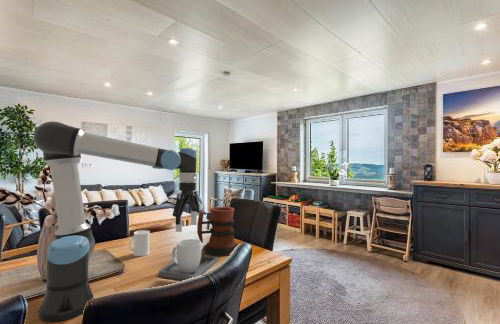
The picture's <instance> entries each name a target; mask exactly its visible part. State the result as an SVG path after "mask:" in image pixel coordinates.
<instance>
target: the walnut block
mask: <svg viewBox="0 0 500 324" xmlns="http://www.w3.org/2000/svg"><path fill="white" fill-rule="evenodd" d="M205 256H206V253H205V250H203V249H201V259H200V263H201V264H202V263H203V261H204V260H205Z"/></svg>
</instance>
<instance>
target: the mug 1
mask: <svg viewBox="0 0 500 324" xmlns="http://www.w3.org/2000/svg"><path fill="white" fill-rule="evenodd" d="M150 232H151V231H150V230H148V229H147V230H146V229H144V230H142V229H141V230H136V231H134V232H133V236H132V237H131V238H130V240H129V242H128V248H129V250H131V251H132V252H133V253H132V255H133V256H134V257H144V256H148V255H150V237H151V235H150V234H151V233H150ZM132 241H133V248H132V247H131V242H132Z"/></svg>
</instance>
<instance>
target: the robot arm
mask: <svg viewBox="0 0 500 324" xmlns="http://www.w3.org/2000/svg"><path fill="white" fill-rule="evenodd" d="M32 137H33V142H34V144H35V146H36V147H37V148H38V150H40V151H42V156H43V160H44V161H43V162H45V163H46V164H47V165H49V168H50V175H51V180H52V181H51V182H52V187H53V193H54V194H53V196H54V202H55V208H56V214H57V222H58V229H57V230H56V231H55V233H54V237H55V240H53V241H51V243H50V244H49V245H48V247H47V251H46V258H47V259H46V290H45V291H46V292H45V293H44V296H43V299H42V302H41V305H40V306H39V309H38V310H39V311H38V318H39V319H40V320H41V321H42V322H43V321H44V322H48V321H51V322H52V321H54V322H61V321H66V320H70V319H73V318H76V317H78V316H80V315H83V314H84V313H83V310H84V307H85V305H86V303H87V301H89V300H91V299H93V300H94V294H93V292H92V288H91V286H90V284H89V261H90V258H91V256H92V253H93V252H94V249H95V246H96V241H95V237H94V235H93V233H92V226H91V224H89V223H87V221H86V216H85V208H84V202H83V200H84V199H83V194H82V193H83V192H82V188H81V187H82V186H81V180H80V179H81V178H80V172H79V165H78V162H79V161H80V160H82V155H86V156H92V157H98V158H103V159H107V160H108V159H109V160H114V161H120V162H121V161H122V162H125V163H133V164H137V165H142V166H147V167H148V166H149V167H152V168H153V169H158V170H160V169H161V170H163V169H165V170H169V171H174V170H176V169H177V170H179V177H178V181H179V183H178V190H179V191H180V192H181V193H177V195H176V201H175V205H174V208H173V211H172V216H173V217H174V218H175V232H176V233H182V232H183V216H182V215H183V213H184V210H185V208H186V205H187V204H188V205H189V206H190V209H191V210H192V211H191V212H190V225H191V226H197V223H198V212H200V204H199V199H198V194H197V183H196V181H197V160H198V158H197V156H198V155H197V149H195V148H193V147H191V148H190V147H187V148H186V147H181V148H180V149H179V151H176V150H173V149H163V148H160V147H159V148H158V147H155V146H151V145H146V144H141V143H137V142H132V141H126V140H121V139H118V138H112V137H107V136H104V135H103V136H102V135H99V134H92V133H89V132H85V131H84V129H82V128H79V127H75V126H72V125H67V124H65V123H63V122H60V121H55V120H54V121H47V122H43V123H42V124H39V125H38V126H37V127H36V128H35V130H34V131H33V136H32Z"/></svg>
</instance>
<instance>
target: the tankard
mask: <svg viewBox="0 0 500 324" xmlns="http://www.w3.org/2000/svg"><path fill="white" fill-rule="evenodd" d="M209 210H210V211H209V212H210V218H211V219H209V220H206V221H205V220H203V219H204V214H205V212H204V211H203V210H201V211H200V210H199V211H198V212H199V213H198V216H197V225H196V226H197V227H196V228H197V231H196V232H197V236H198V240H200V241H201V244H204V240H203V234H210V236H209V240H208V242H207V243H206V244H205V245H203V246H202V250H205V255H207V256H213V257H227V256H230V255H229V254H230V253H231V252H232V251H233V250H234V248H235V247H236V246H237V245H239V244H238V243H237V242H236V240H235V236H234V234H235V229H234V228H233V225H235V219H234V214H235V208H234V207H228V206H214V207H211V208H209ZM203 225H211V228H209V230H203Z"/></svg>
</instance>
